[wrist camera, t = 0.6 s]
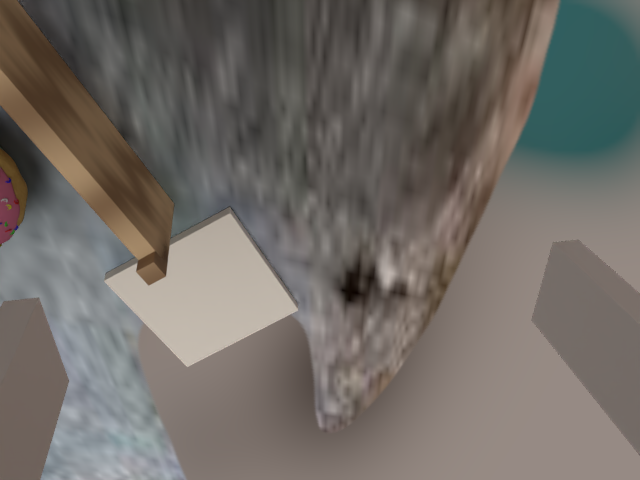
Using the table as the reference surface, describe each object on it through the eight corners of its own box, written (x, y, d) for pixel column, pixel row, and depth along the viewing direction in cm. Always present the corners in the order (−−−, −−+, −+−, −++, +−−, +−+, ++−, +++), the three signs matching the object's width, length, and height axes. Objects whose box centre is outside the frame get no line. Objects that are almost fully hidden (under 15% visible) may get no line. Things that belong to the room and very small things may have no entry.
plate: (105, 273, 40) (103, 281, 39) (229, 206, 39) (230, 213, 38) (187, 358, 46) (187, 366, 45) (296, 302, 45) (298, 310, 44)
